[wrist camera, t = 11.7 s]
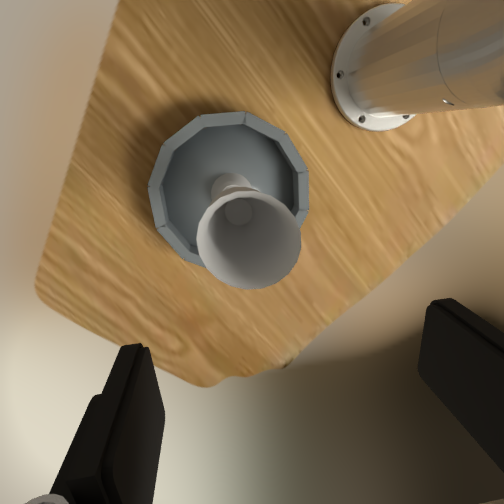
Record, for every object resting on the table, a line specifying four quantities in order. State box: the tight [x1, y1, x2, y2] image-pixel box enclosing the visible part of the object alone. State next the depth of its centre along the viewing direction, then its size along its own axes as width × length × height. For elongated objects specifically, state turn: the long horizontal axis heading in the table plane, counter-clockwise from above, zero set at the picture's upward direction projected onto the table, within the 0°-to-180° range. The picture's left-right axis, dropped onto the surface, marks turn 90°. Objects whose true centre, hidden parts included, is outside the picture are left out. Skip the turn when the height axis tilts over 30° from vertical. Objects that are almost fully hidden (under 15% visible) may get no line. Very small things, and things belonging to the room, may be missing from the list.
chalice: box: [196, 173, 301, 289], centre depth 29 cm, size 7×7×18 cm
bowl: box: [147, 111, 309, 268], centre depth 37 cm, size 18×18×4 cm
